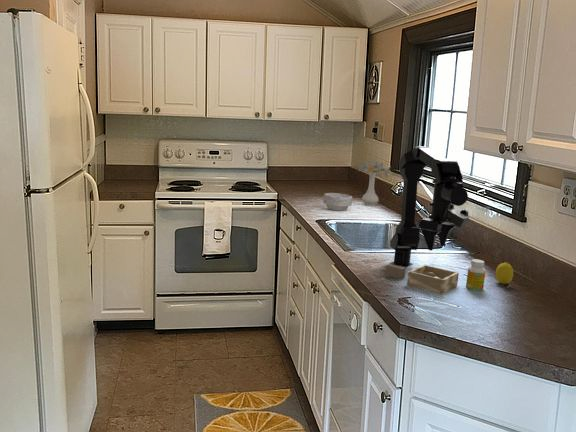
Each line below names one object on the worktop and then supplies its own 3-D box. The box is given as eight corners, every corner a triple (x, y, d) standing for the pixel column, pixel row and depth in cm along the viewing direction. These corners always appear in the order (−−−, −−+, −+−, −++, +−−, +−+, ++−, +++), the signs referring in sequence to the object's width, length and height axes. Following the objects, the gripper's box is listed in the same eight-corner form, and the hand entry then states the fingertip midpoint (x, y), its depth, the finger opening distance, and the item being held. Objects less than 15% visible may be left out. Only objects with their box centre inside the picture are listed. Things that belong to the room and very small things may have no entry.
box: (422, 278, 200) (424, 264, 199) (456, 287, 193) (458, 272, 192) (406, 286, 191) (408, 271, 190) (442, 295, 184) (443, 280, 183)
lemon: (497, 281, 203) (500, 259, 202) (513, 285, 200) (517, 262, 198) (491, 284, 199) (494, 261, 197) (508, 288, 196) (511, 265, 194)
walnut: (427, 279, 198) (428, 270, 197) (436, 282, 196) (437, 272, 195) (422, 281, 195) (423, 272, 194) (432, 284, 193) (433, 274, 192)
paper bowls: (356, 209, 320) (357, 195, 318) (343, 213, 307) (344, 198, 305) (331, 205, 328) (332, 191, 326) (317, 209, 315) (318, 194, 313)
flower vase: (390, 207, 334) (394, 163, 329) (359, 206, 329) (363, 161, 324) (380, 203, 346) (384, 160, 341) (351, 202, 341) (354, 159, 336)
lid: (386, 272, 208) (388, 259, 207) (419, 280, 200) (421, 267, 200) (369, 279, 198) (370, 265, 197) (402, 288, 191) (404, 274, 190)
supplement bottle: (471, 292, 189) (475, 263, 187) (462, 287, 194) (466, 258, 192) (486, 292, 190) (490, 263, 188) (476, 287, 195) (480, 258, 193)
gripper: (455, 207, 175) (449, 258, 178) (477, 200, 189) (471, 248, 192) (420, 201, 181) (414, 250, 184) (444, 195, 196) (439, 241, 199)
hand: (436, 248), depth 190 cm, fingers open, 9 cm apart
